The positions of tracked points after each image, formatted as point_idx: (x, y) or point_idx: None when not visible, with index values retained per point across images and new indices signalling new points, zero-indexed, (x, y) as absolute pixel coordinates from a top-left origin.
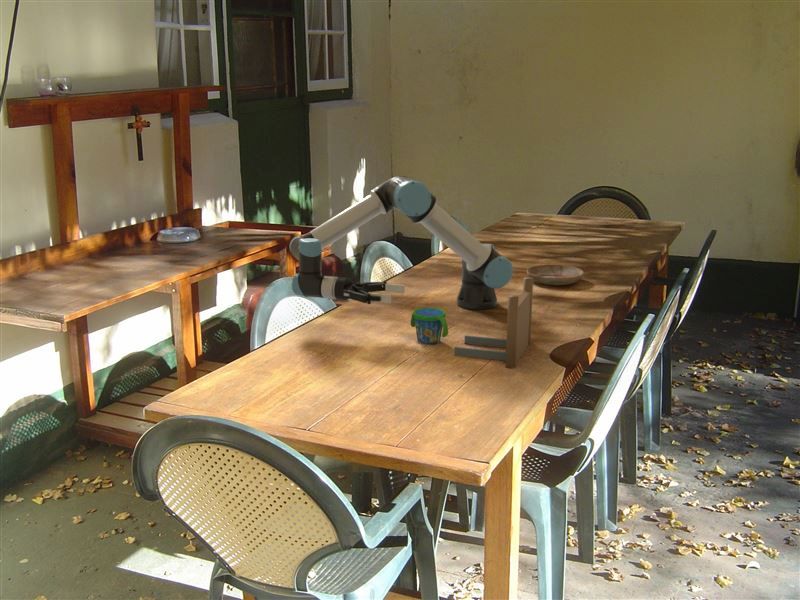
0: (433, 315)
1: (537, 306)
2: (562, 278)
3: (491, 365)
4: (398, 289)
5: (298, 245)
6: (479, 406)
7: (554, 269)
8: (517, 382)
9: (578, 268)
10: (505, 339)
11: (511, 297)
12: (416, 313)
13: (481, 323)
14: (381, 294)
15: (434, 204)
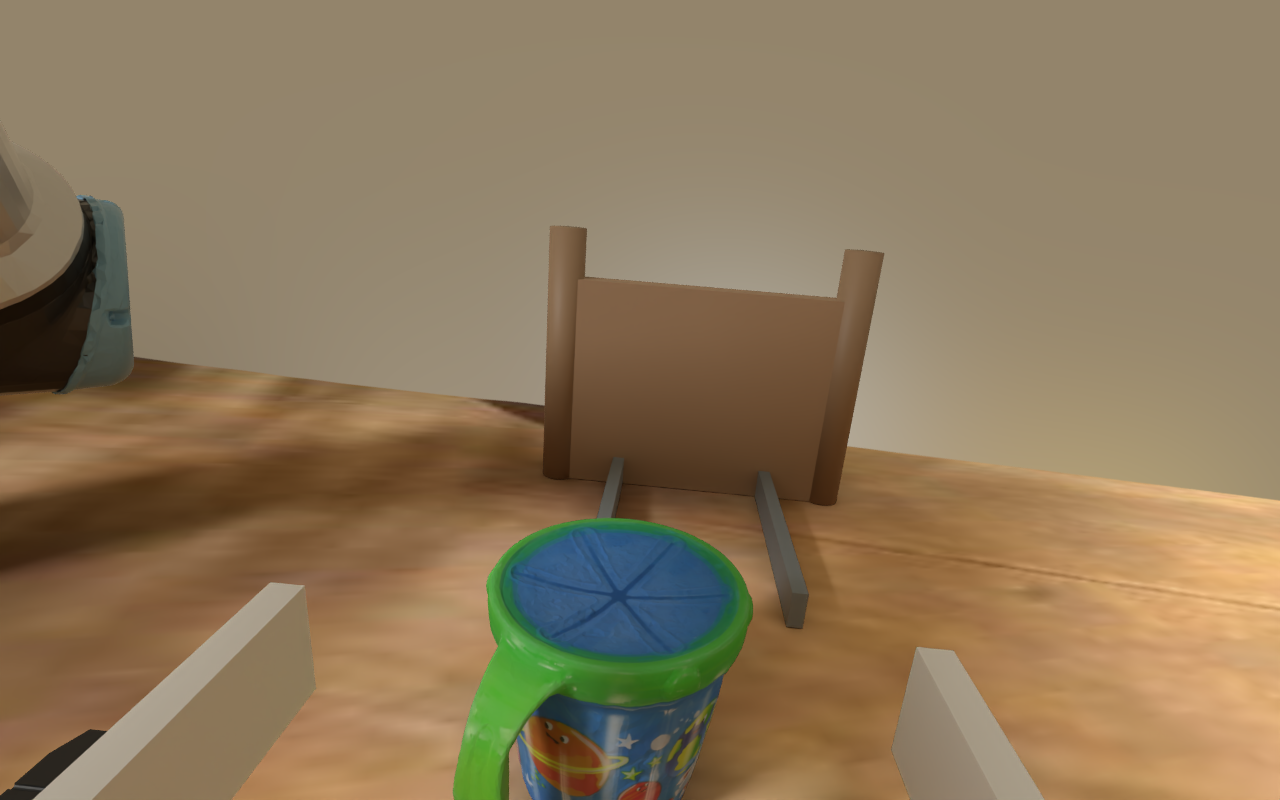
0: (661, 569)
1: (28, 443)
2: None
3: (841, 530)
4: (253, 707)
5: None
6: (1222, 544)
7: None
8: (941, 489)
9: None
10: (611, 479)
11: (883, 253)
12: (685, 649)
13: (225, 568)
14: (1035, 788)
15: None
